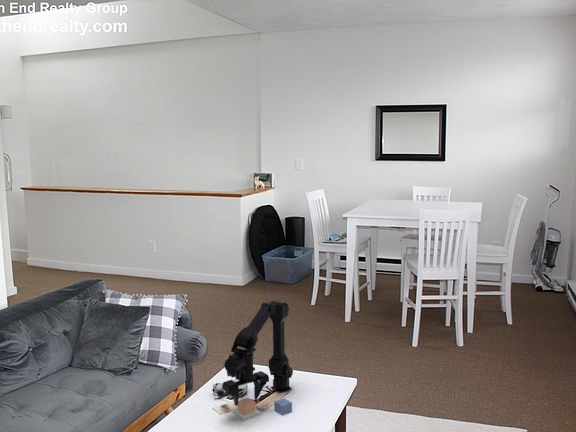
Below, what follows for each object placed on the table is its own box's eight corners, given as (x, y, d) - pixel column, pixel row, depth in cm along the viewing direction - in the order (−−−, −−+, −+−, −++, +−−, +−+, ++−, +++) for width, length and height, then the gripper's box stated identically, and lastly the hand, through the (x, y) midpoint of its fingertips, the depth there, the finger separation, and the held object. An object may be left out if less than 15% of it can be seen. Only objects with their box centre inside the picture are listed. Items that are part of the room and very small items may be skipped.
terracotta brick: (248, 406, 230) (248, 397, 230) (255, 411, 226) (255, 401, 226) (237, 410, 227) (237, 400, 227) (244, 415, 223) (244, 405, 223)
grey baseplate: (249, 407, 232) (249, 404, 232) (260, 414, 226) (260, 411, 226) (232, 412, 228) (232, 410, 227) (243, 420, 221) (243, 417, 221)
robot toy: (213, 403, 238) (249, 397, 241) (212, 392, 238) (248, 387, 240) (212, 390, 250) (246, 385, 253) (211, 380, 250) (245, 375, 252)
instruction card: (231, 402, 237) (231, 401, 236) (239, 407, 232) (239, 407, 232) (212, 408, 231) (212, 407, 231) (219, 414, 226) (219, 413, 226)
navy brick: (284, 407, 233) (284, 398, 232) (291, 411, 229) (291, 402, 228) (274, 411, 230) (274, 401, 229) (282, 415, 226) (282, 406, 225)
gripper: (254, 353, 236) (254, 389, 238) (214, 363, 225) (215, 401, 227) (269, 361, 227) (269, 398, 229) (229, 372, 216) (230, 412, 218)
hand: (246, 402), depth 226 cm, fingers open, 9 cm apart
